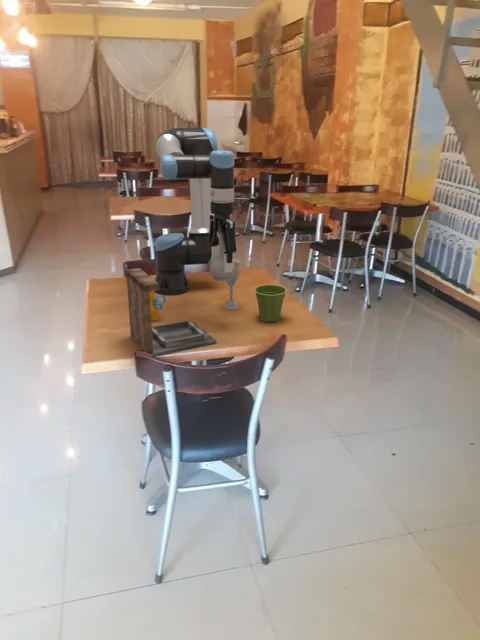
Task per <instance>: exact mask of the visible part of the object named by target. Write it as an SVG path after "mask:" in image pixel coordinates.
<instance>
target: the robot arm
mask: <svg viewBox="0 0 480 640" xmlns="http://www.w3.org/2000/svg"><path fill="white" fill-rule="evenodd" d="M154 148H155V151H156V154H157V156H158V157H159V158H160V160H159V161H160V162H159V163H160V164H159V165H160V166H159V168H160V174H161V175H160V176H161V177H162V178H163V179H167V180H186V179H187V180H188V179H189V192H190V194H189V195H190V213H191V216H190V219H191V229H189V231H187V232H188V236H185V235H184V233H182V232H171V233H166V234H162V235H160V236H158V237H157V238H156V239H155V248H154V250H155V259H156V260H155V261H156V262H155V263H156V273H155V278H154V280H155V281H156V282H158V283H159V290H157V291H155V294H158V295H164V296H165V295H167V296H169V295H171V296H172V295H173V296H175V295H181V294H184V293H187V292H188V291H189V290H190V282H189V280H188V277H187V274H186V271H185V266H191V265H195V266H196V265H211V261H212V259H213V258H214V257H217V256H219V238H218V237H217V231H219V228H220V233H221V234H222V236H223V242H224V247H225V252H224V272H225V273H226V272H232V259H233V254H234V253H237V244H236V243H237V242H236V229H235V227H236V222H235V221H231V218H230V217H231V216H230V215H232V214H233V213H234V211H235V209H234V208H235V207H234V206H235V205H234V202H233V201H234V200H235V199H234V198H235V197H234V196H235V186H234V183H235V181H234V180H235V178H234V177H235V165H236V164H235V155H234V152H233V151H231V150H222V149H221V150H219V147H218V140H217V137H216V133H215V132H214V130H213V129H211V128H208V127H171V128H169V129H166V130H164V131H162V132H161V133H159V134H158V135H157V138H156V140H155V142H154Z"/></svg>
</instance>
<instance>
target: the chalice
mask: <svg viewBox="0 0 480 640" xmlns="http://www.w3.org/2000/svg"><path fill="white" fill-rule="evenodd" d="M232 260H233V262H234V265H235V272H234V275H233V276H231V277H232V279H230V280H227V281H226V284H227V285H228V286H229V294H228V295H229V300H227V301H226V303H225V305H224V308H225V309H227V310H235V309H238V305H237V302H236V301H235V300H234V299H233V296H234V294H233V293H234V292H233V291H234V289H233V286H235V285H236V283H237V281H238V280H239V276H240V264H241V260H239V259H233V258H232Z"/></svg>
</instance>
